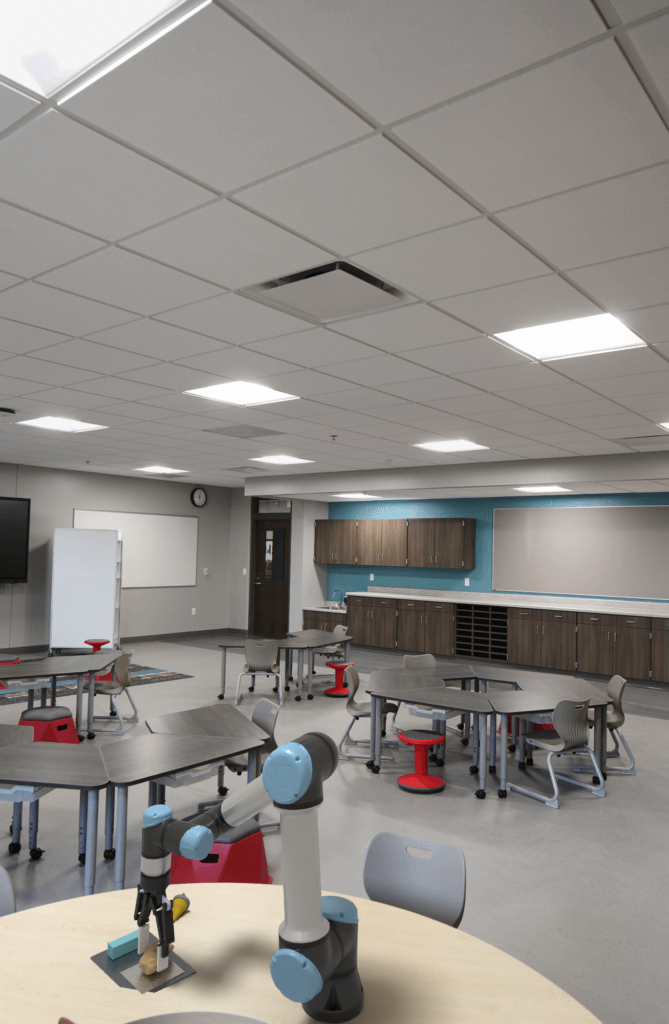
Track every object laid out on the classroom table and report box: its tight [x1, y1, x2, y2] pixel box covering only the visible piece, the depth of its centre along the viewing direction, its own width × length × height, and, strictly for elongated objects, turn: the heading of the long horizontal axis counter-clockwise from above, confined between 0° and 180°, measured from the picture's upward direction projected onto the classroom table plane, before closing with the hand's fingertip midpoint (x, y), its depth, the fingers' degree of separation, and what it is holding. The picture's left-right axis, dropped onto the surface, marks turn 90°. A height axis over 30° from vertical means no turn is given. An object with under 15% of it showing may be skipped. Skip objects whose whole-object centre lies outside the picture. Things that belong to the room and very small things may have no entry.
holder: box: [90, 931, 197, 995], centre depth 169 cm, size 24×17×1 cm
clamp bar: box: [107, 929, 138, 960], centre depth 175 cm, size 3×10×3 cm, turn 135°
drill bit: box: [172, 892, 191, 922], centre depth 194 cm, size 5×5×10 cm
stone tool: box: [139, 942, 175, 975], centre depth 168 cm, size 9×7×10 cm
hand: (152, 960), depth 166 cm, fingers closed on stone tool, 9 cm apart
